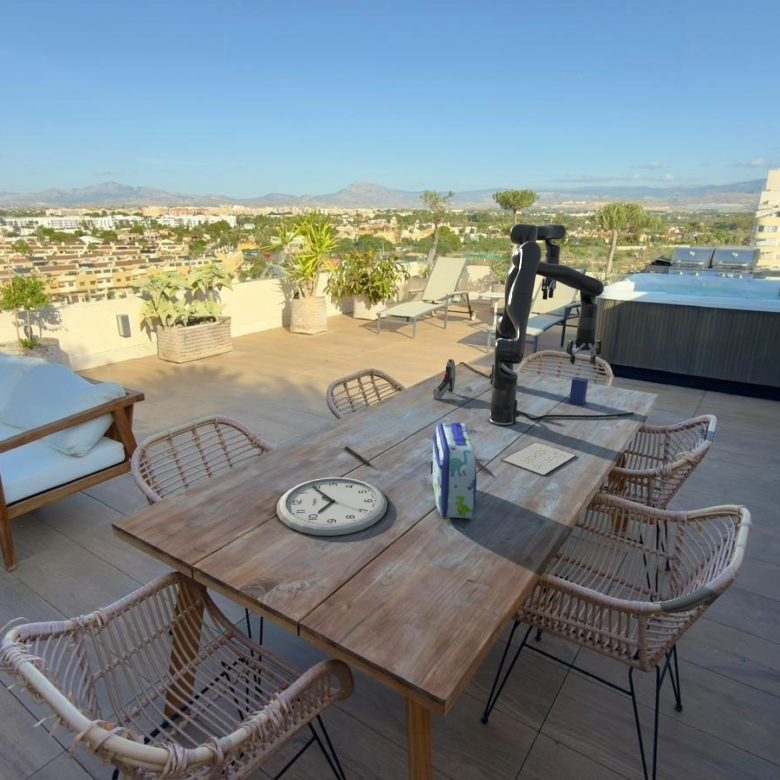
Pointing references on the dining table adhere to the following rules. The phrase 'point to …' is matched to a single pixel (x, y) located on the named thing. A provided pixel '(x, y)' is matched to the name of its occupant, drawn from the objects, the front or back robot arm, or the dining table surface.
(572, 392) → the block
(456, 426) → the lunch box
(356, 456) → the brown wooden stick
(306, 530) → the wall clock
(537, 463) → the invitation card
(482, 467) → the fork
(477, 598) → the dining table surface
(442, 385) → the toy gun
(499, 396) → the front robot arm
